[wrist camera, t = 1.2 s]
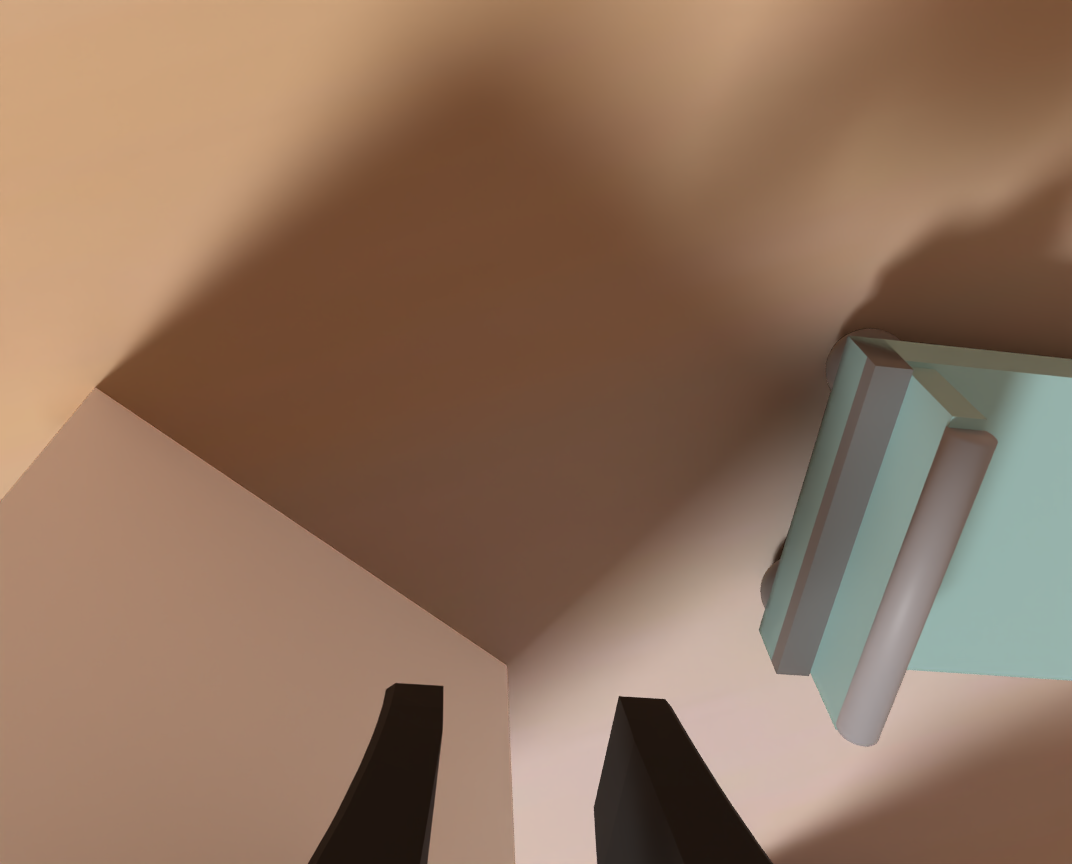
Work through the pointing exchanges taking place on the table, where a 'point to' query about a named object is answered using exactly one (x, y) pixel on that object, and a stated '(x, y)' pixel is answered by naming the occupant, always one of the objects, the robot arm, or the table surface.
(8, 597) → the storage container
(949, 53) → the table surface
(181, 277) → the table surface
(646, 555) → the table surface
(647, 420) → the table surface
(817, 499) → the trolley
